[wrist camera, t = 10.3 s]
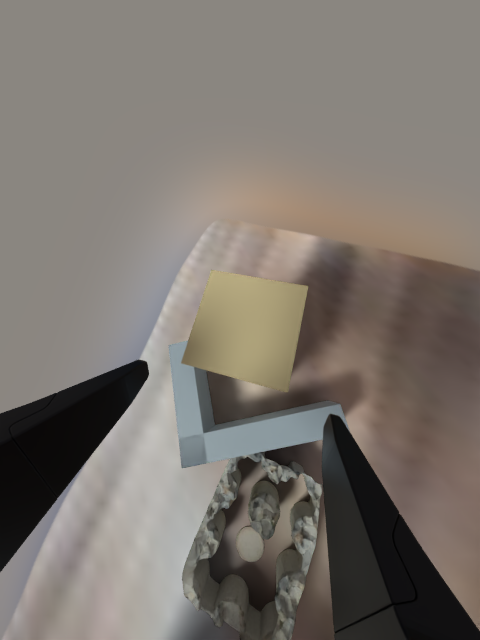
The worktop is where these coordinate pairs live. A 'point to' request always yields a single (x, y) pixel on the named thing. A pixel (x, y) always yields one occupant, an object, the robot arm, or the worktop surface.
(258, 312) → the tea tin
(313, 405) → the corner fence
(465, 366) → the worktop surface
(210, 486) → the worktop surface
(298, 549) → the egg carton
